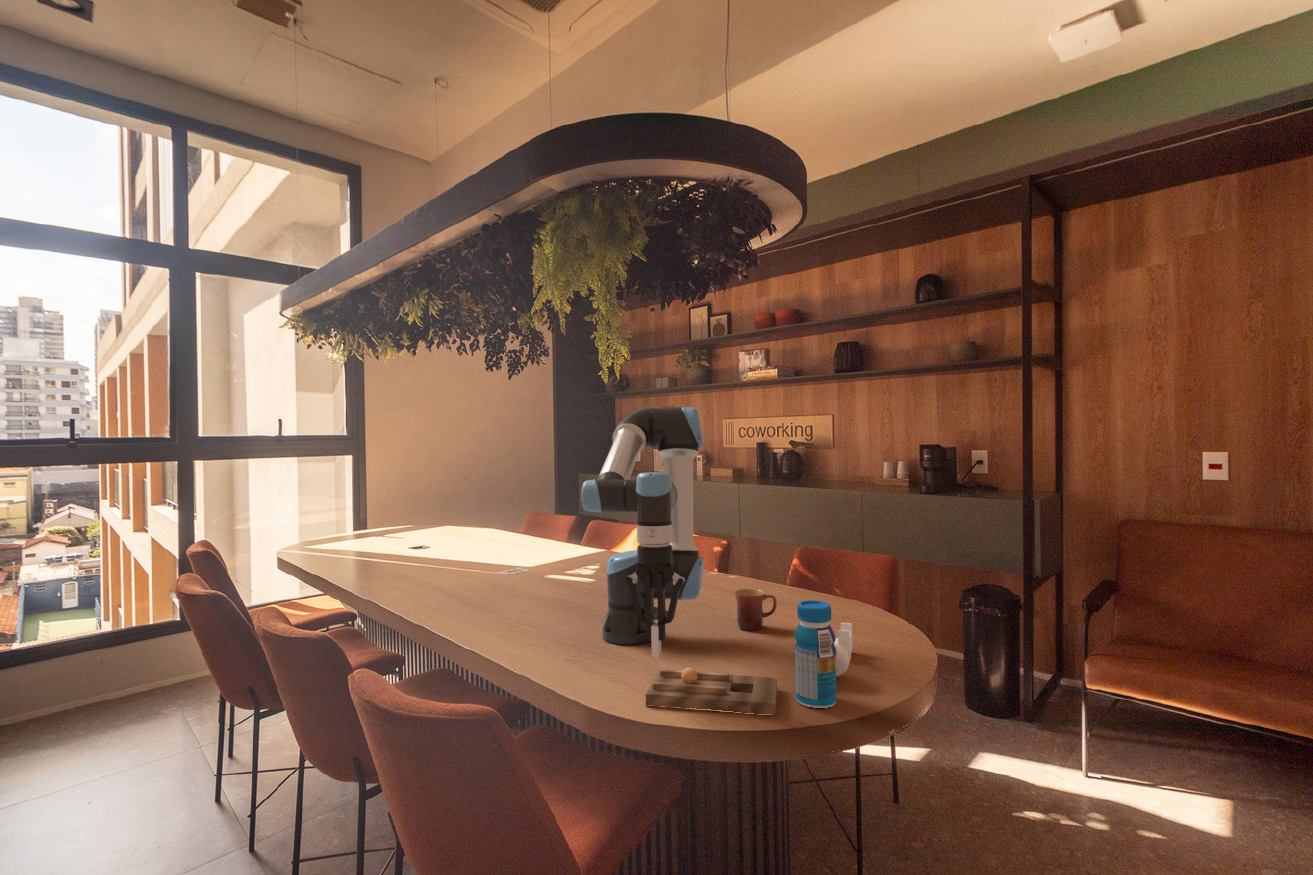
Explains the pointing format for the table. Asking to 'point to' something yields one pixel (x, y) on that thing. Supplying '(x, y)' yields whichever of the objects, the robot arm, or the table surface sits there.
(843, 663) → the white knot
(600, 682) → the table surface
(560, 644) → the table surface
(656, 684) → the lane board
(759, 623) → the mug
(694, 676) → the ball
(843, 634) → the bracket
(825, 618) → the beverage bottle
